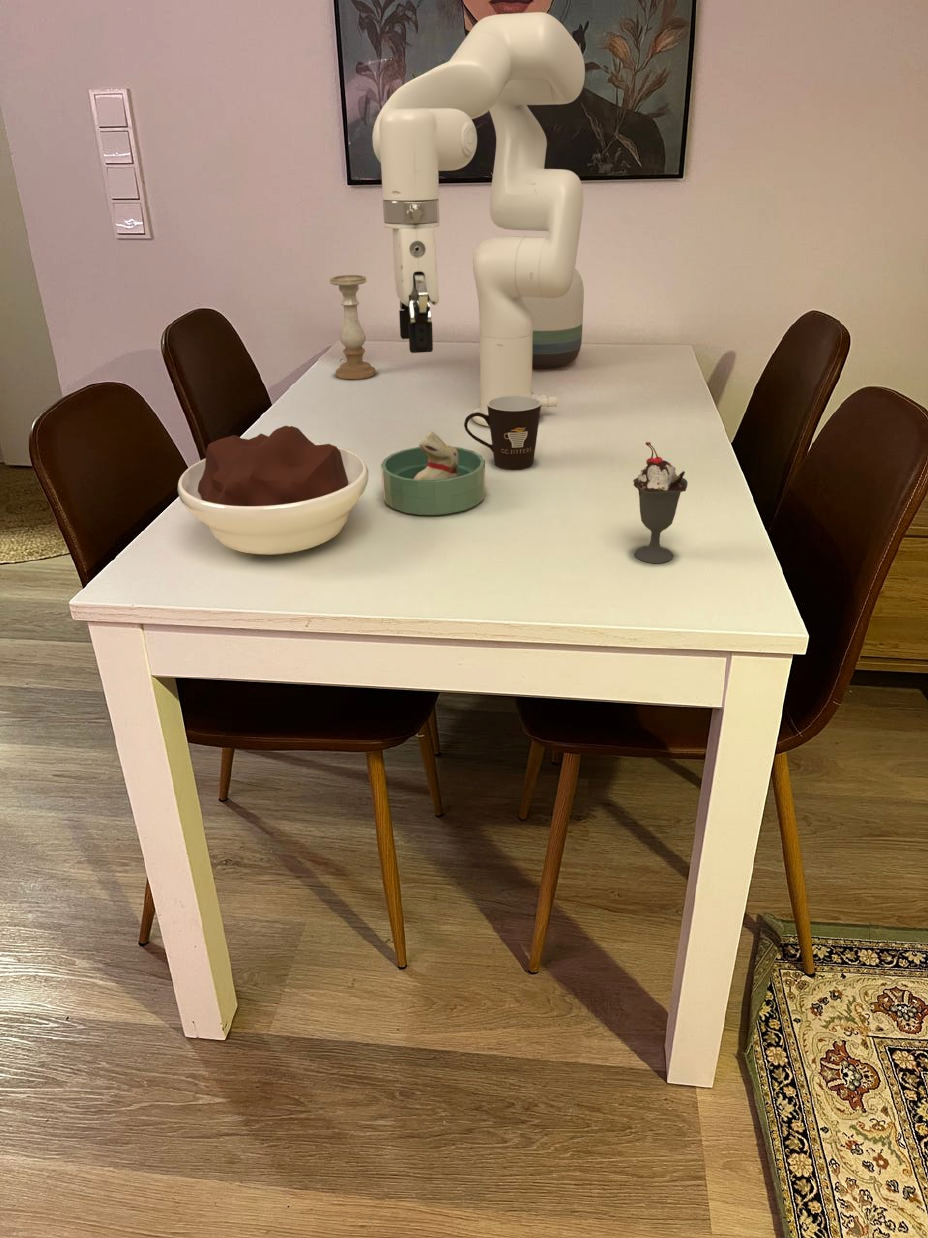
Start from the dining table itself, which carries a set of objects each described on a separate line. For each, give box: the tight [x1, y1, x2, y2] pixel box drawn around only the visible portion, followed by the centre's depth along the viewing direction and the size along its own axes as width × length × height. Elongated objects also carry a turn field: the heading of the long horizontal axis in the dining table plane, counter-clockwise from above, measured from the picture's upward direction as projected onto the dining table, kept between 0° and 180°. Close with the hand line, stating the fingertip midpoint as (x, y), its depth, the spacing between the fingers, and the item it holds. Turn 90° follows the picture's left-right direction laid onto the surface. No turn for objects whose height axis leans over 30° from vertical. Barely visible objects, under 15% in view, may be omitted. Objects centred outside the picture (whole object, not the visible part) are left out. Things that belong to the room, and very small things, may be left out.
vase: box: [521, 268, 585, 369], centre depth 198 cm, size 17×17×24 cm
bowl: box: [380, 446, 486, 516], centre depth 135 cm, size 15×15×6 cm
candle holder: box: [329, 274, 377, 380], centre depth 195 cm, size 9×9×20 cm
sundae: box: [632, 441, 689, 564], centre depth 114 cm, size 7×7×15 cm
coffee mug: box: [463, 395, 542, 471], centre depth 147 cm, size 12×9×10 cm
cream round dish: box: [176, 425, 369, 556], centre depth 121 cm, size 25×25×15 cm
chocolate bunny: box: [414, 430, 459, 480], centre depth 134 cm, size 6×8×10 cm
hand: (416, 344), depth 130 cm, fingers open, 9 cm apart
